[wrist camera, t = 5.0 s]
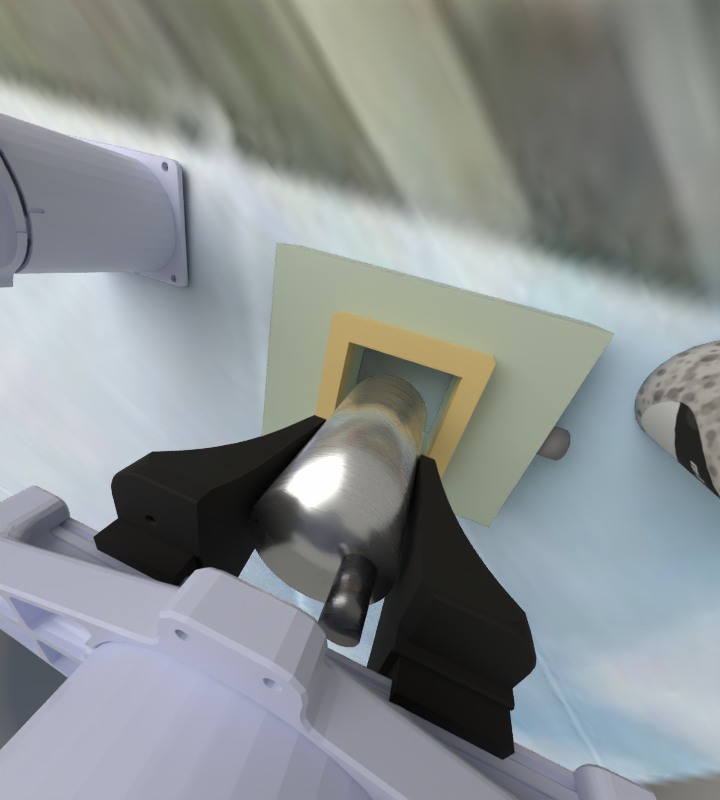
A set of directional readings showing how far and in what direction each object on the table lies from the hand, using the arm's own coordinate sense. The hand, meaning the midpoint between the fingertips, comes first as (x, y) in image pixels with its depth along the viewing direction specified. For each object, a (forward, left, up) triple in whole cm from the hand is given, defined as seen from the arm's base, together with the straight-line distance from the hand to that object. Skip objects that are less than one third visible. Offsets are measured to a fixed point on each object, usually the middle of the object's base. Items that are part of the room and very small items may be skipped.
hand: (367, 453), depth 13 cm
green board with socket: (0, 0, -9) cm, 9 cm away
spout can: (0, 0, -3) cm, 4 cm away
